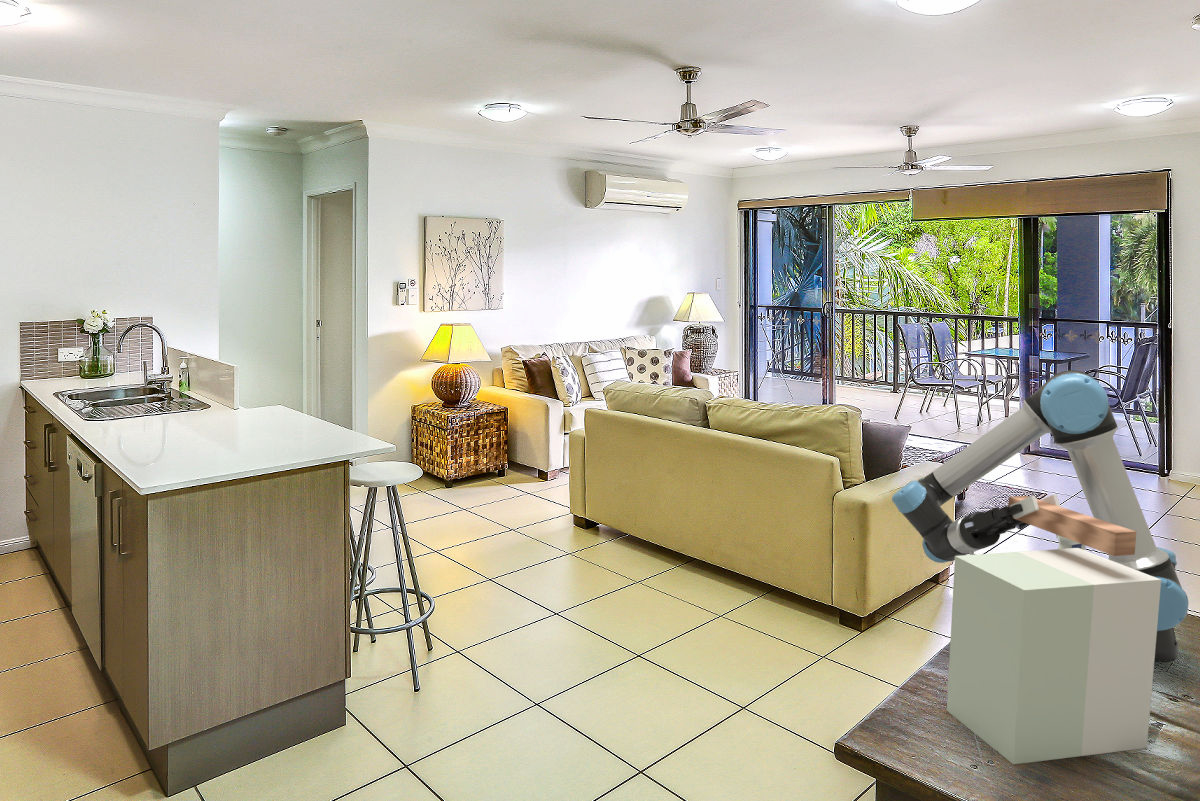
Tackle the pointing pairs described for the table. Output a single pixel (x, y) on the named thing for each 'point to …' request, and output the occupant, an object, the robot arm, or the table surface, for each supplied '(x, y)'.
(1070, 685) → the pale green cube
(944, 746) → the table surface
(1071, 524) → the bar
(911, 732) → the table surface
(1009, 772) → the table surface
